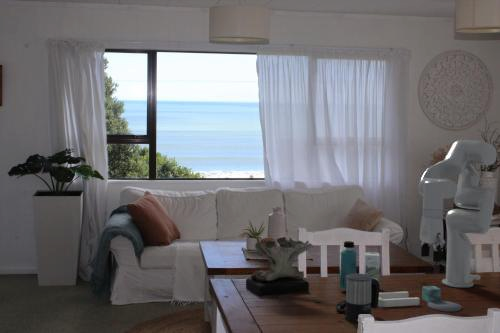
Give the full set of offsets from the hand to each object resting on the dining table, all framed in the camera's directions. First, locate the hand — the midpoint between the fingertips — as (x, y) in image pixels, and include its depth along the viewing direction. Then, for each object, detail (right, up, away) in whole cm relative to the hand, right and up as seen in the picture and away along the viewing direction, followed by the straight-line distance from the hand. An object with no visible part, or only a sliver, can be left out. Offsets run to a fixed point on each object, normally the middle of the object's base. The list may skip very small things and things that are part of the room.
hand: (431, 258), depth 246 cm
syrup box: (-20, -15, +17) cm, 30 cm away
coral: (-55, -15, +11) cm, 58 cm away
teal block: (0, -16, +1) cm, 16 cm away
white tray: (-14, -16, -2) cm, 21 cm away
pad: (+3, -17, -7) cm, 18 cm away
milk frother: (-33, -17, -19) cm, 42 cm away
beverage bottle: (-30, -15, +12) cm, 36 cm away
